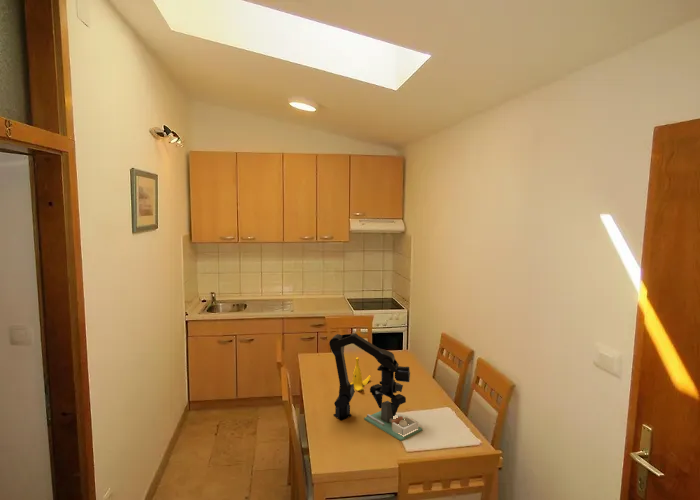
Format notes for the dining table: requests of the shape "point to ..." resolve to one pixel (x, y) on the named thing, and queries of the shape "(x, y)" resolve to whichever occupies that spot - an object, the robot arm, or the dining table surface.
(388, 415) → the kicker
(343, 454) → the dining table surface
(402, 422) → the ball
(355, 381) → the banana peel
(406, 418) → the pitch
